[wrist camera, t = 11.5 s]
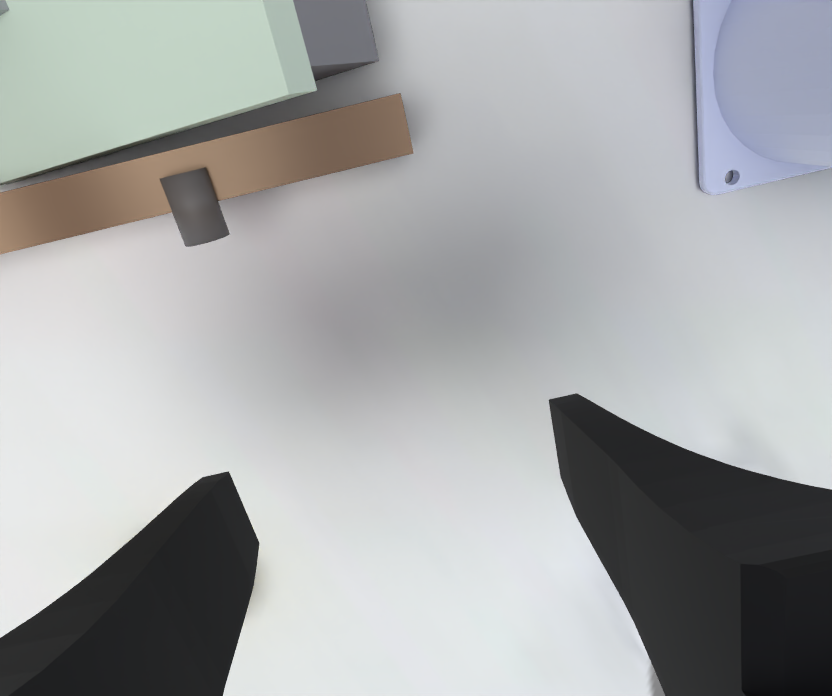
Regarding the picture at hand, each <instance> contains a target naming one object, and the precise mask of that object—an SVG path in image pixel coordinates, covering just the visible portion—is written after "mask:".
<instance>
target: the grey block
mask: <svg viewBox="0 0 832 696" xmlns="http://www.w3.org/2000/svg"><path fill="white" fill-rule="evenodd" d="M8 10H9V7H8V5H7V3H6V1H5V0H0V16H1V15H2V14H4V13H5V12H7V11H8Z"/></svg>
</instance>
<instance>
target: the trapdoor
mask: <svg viewBox="0 0 832 696" xmlns="http://www.w3.org/2000/svg"><path fill="white" fill-rule="evenodd" d="M5 1H6V3H7V5H8V7H9V10H8V11H7V12H5V13H4V14H2V15H1V16H0V185H2V184H7V183H12V182H16V181H20V180H23V179H26V178H30V177H33V176H36V175H39V174H43V173H46V172H49V171H53V170H56V169H59V168H63V167H66V166H69V165H72V164H76V163H79V162H82V161H86V160H89V159H92V158H96V157H99V156H102V155H105V154H109V153H112V152H115V151H119V150H122V149H125V148H129V147H132V146H135V145H139V144H142V143H145V142H148V141H152V140H155V139H158V138H162V137H165V136H168V135H172V134H175V133H178V132H181V131H185V130H188V129H191V128H195V127H198V126H201V125H205V124H208V123H211V122H214V121H218V120H221V119H224V118H228V117H231V116H234V115H238V114H241V113H244V112H248V111H251V110H254V109H257V108H261V107H264V106H267V105H271V104H274V103H277V102H281V101H284V100H287V99H290V98H294V97H297V96H300V95H304V94H307V93H310V92H314V91H317V88H316V84H315V81H317V80H320V79H323V78H326V77H329V76H333V75H336V74H339V73H342V72H345V71H349V70H352V69H355V68H358V67H361V66H364V65H368V64H371V63H374V62H377V61H379V58H378V54H377V49H376V45H375V41H374V36H373V32H372V27H371V23H370V19H369V14H368V10H367V5H366V1H365V0H5Z"/></svg>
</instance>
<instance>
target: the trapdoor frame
mask: <svg viewBox="0 0 832 696" xmlns="http://www.w3.org/2000/svg"><path fill="white" fill-rule="evenodd" d="M409 154H413V148H412V144H411V139H410V135H409V130H408V125H407V121H406V116H405V112H404V107H403V102H402V98H401V93H399V94H395V95H391V96H387V97H383V98H379V99H375V100H371V101H367V102H363V103H359V104H355V105H351V106H347V107H343V108H339V109H335V110H331V111H327V112H323V113H319V114H314V115H310V116H306V117H302V118H298V119H294V120H290V121H286V122H282V123H278V124H274V125H270V126H266V127H262V128H258V129H254V130H250V131H246V132H242V133H238V134H234V135H230V136H226V137H222V138H218V139H214V140H210V141H206V142H202V143H198V144H194V145H190V146H186V147H182V148H178V149H174V150H170V151H166V152H162V153H158V154H154V155H150V156H146V157H142V158H138V159H134V160H130V161H126V162H122V163H118V164H114V165H110V166H106V167H102V168H98V169H94V170H90V171H86V172H82V173H78V174H74V175H70V176H66V177H62V178H58V179H54V180H50V181H45V182H41V183H37V184H33V185H29V186H25V187H21V188H17V189H13V190H9V191H5V192H1V193H0V254H4V253H8V252H12V251H16V250H20V249H24V248H28V247H32V246H36V245H40V244H45V243H49V242H53V241H57V240H61V239H65V238H69V237H73V236H77V235H81V234H85V233H90V232H94V231H98V230H102V229H106V228H110V227H114V226H118V225H122V224H126V223H130V222H135V221H139V220H143V219H147V218H151V217H155V216H159V215H163V214H167V213H171V212H172V213H173V215H174V218H175V220H176V223H177V226H178V228H179V231H180V233H181V236H182V238H183V241H184V244H185V246H186V247H189V246H195V245H200V244H204V243H208V242H211V241H214V240H217V239H220V238H223V237H225V236H227V235H229V231H228V228H227V225H226V222H225V220H224V217H223V214H222V211H221V208H220V206H219V203H218V201H220V200H225V199H229V198H233V197H237V196H241V195H245V194H249V193H253V192H257V191H261V190H265V189H270V188H274V187H278V186H282V185H286V184H290V183H294V182H298V181H302V180H306V179H310V178H315V177H319V176H323V175H327V174H331V173H335V172H339V171H343V170H347V169H351V168H355V167H360V166H364V165H368V164H372V163H376V162H380V161H384V160H388V159H392V158H396V157H400V156H405V155H409Z"/></svg>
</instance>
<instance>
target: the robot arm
mask: <svg viewBox="0 0 832 696" xmlns="http://www.w3.org/2000/svg"><path fill="white" fill-rule="evenodd" d="M693 8H694V38H695V67H696V97H697V127H698V156H699V183H700V188H701V189H702V190H703V192H705V193H708V194H711V195H719V194H723V193H727V192H731V191H735V190H740V189H744V188H748V187H752V186H757V185H761V184H765V183H769V182H774V181H778V180H782V179H786V178H790V177H795V176H799V175H803V174H807V173H812V172H816V171H820V170H824V169H829V168H832V0H693ZM731 170H732V171H733V174H734V175H733V179H732V180H731V181H730V182H729V183H726V181H725V177H726V174H727V173H728V172H729V171H731ZM549 405H550V411H551V418H552V424H553V430H554V437H555V443H556V450H557V456H558V463H559V469H560V476H561V479H562V482H563V484H564V487H565V489H566V492H567V495H568V497H569V500H570V502H571V505H572V507H573V509H574V512H575V514H576V517H577V518H578V520H579V522H580V524H581V526H582V528H583V530H584V531H585V533H586V535H587V537H588V539H589V540H590V542H591V544H592V546H593V548H594V549H595V551H596V553H597V555H598V557H599V558H600V560H601V562H602V564H603V566H604V567H605V569H606V571H607V573H608V574H609V576H610V578H611V580H612V582H613V583H614V585H615V587H616V589H617V591H618V592H619V594H620V596H621V598H622V600H623V601H624V603H625V605H626V607H627V609H628V611H629V613H630V615H631V617H632V619H633V621H634V623H635V626H636V628H637V630H638V632H639V635H640V637H641V639H642V642H643V644H644V646H645V649H646V651H647V653H648V656H649V658H650V660H651V662H652V665H653V667H654V669H655V672H656V674H657V677H658V679H659V681H660V684H661V686H662V688H663V691H664V693H665V696H832V490H830V489H825V488H820V487H814V486H809V485H805V484H800V483H795V482H791V481H786V480H782V479H778V478H775V477H771V476H767V475H763V474H759V473H756V472H752V471H748V470H745V469H741V468H738V467H735V466H731V465H728V464H725V463H723V462H720V461H717V460H714V459H711V458H708V457H705V456H703V455H700V454H697V453H694V452H692V451H689V450H687V449H684V448H682V447H679V446H677V445H675V444H673V443H670V442H668V441H666V440H664V439H661V438H659V437H657V436H655V435H653V434H651V433H649V432H647V431H645V430H643V429H641V428H639V427H637V426H635V425H633V424H631V423H629V422H627V421H625V420H623V419H621V418H620V417H618V416H616V415H614V414H612V413H611V412H609V411H607V410H605V409H604V408H602V407H600V406H598V405H596V404H595V403H593V402H591V401H590V400H588V399H586V398H584V397H582V396H581V395H579V394H577V393H576V394H572V395H568V396H563V397H559V398H554V399H550V400H549ZM258 549H259V541H258V539H257V537H256V534H255V532H254V530H253V527H252V525H251V522H250V520H249V518H248V515H247V513H246V511H245V508H244V506H243V504H242V501H241V499H240V497H239V494H238V492H237V489H236V487H235V485H234V482H233V480H232V478H231V475H230V473H229V472H224V473H220V474H215V475H211V476H206V477H202V478H201V479H200V480H198V481H197V482H195V483H194V484H193V485H192V486H190V487H189V488H188V489H187V490H186V491H185V492H183V493H182V494H181V495H180V496H179V497H178V498H177V499H175V500H174V501H173V502H172V503H171V504H170V505H169V506H168V507H167V508H166V509H164V510H163V511H162V512H161V513H160V514H159V515H158V516H157V517H156V518H154V519H153V520H152V521H151V522H150V523H149V524H148V525H147V526H146V527H145V528H143V529H142V530H141V531H140V532H139V533H138V534H137V535H136V536H135V537H133V538H132V539H131V540H130V541H129V542H128V543H126V544H125V545H124V546H123V547H122V548H121V549H119V550H118V551H117V552H116V553H115V554H114V555H112V556H111V557H110V558H109V559H108V560H106V561H105V562H104V563H103V564H102V565H101V566H99V567H98V568H97V569H96V570H95V571H94V572H92V573H91V574H90V575H89V576H87V577H86V578H85V579H84V580H82V581H81V582H80V583H78V584H77V585H76V586H74V587H73V588H72V589H71V590H69V591H68V592H67V593H65V594H64V595H62V596H61V597H60V598H58V599H57V600H56V601H54V602H53V603H52V604H50V605H49V606H47V607H46V608H45V609H43V610H42V611H40V612H39V613H38V614H36V615H35V616H33V617H32V618H30V619H29V620H27V621H26V622H24V623H23V624H21V625H20V626H18V627H16V628H15V629H13V630H12V631H10V632H9V633H7V634H6V635H4V636H3V637H1V638H0V696H223V692H224V688H225V684H226V681H227V677H228V674H229V670H230V667H231V664H232V660H233V657H234V653H235V650H236V646H237V643H238V639H239V636H240V632H241V629H242V626H243V622H244V619H245V615H246V611H247V608H248V604H249V601H250V597H251V593H252V589H253V586H254V579H255V573H256V566H257V558H258Z"/></svg>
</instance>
